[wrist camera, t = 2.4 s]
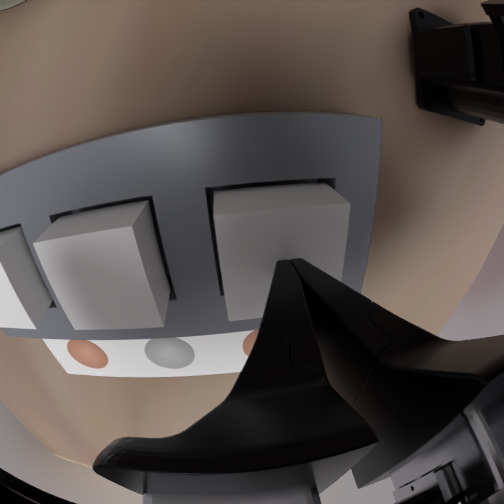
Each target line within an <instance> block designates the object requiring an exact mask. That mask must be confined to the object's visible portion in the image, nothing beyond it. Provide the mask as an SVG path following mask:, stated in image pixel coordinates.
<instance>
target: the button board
mask: <svg viewBox="0 0 504 504" xmlns="http://www.w3.org/2000/svg"><path fill="white" fill-rule="evenodd" d="M381 132H382V118H377V117H371V116H365V115H358V114H351V113H338V112H314V111H277V112H252V113H237V114H226V115H215V116H206V117H198V118H191V119H184V120H177V121H171V122H165V123H159V124H154V125H149V126H144V127H139V128H134V129H130V130H126V131H121V132H117V133H113V134H109V135H105V136H102V137H98V138H94V139H91V140H87V141H84V142H81V143H77V144H74V145H71V146H68V147H65V148H62V149H59V150H56V151H53V152H51V153H48V154H45V155H42V156H40V157H37V158H35V159H32V160H30V161H27V162H25V163H22V164H20V165H18V166H15V167H13V168H11V169H9V170H6V171H4V172H2V173H0V232H2V231H6V230H9V229H13V228H17V227H22V229H23V232H24V235H25V238H26V240H27V243H28V246H29V248H30V251H31V253H32V256H33V258H34V260H35V263H36V265H37V267H38V269H39V272H40V274H41V276H42V278H43V280H44V282H45V285H46V287H47V289H48V291H49V293H50V295H51V297H52V299H53V301H52V303H51V305H50V306H49V308H48V310H47V311H46V313H45V315H44V317H43V319H42V320H41V322H40V324H39V326H38V328H37V329H20V328H4V327H1V328H2V329H3V331H4V332H5V334H6V335H7V336H13V337H25V338H40V339H62V340H136V339H160V338H176V337H190V336H203V335H214V334H224V333H233V332H242V331H250V330H258V329H259V328H260V324H261V321H262V318H254V319H246V320H237V321H229V320H228V314H227V308H226V301H225V295H224V288H223V281H222V275H221V268H220V261H219V254H218V246H217V239H216V231H215V224H214V216H213V213H214V191H220V190H230V189H240V188H250V187H262V186H274V185H288V184H305V183H326V184H328V185H329V186H330V187H331V188H332V189H334V190H335V191H336V192H337V193H339V194H340V195H341V196H342V197H343V198H345V199H346V200H347V201H348V202H349V203H350V215H349V225H348V234H347V242H346V250H345V258H344V265H343V272H342V279H341V282H342V283H344V284H345V285H347V286H349V287H350V288H352V289H354V290H355V291H357V292H358V293H361V288H362V284H363V279H364V274H365V269H366V264H367V259H368V253H369V247H370V241H371V235H372V228H373V222H374V214H375V206H376V198H377V189H378V179H379V167H380V152H381ZM146 200H149V205H150V210H151V215H152V219H153V224H154V228H155V232H156V237H157V241H158V245H159V249H160V253H161V257H162V261H163V265H164V269H165V272H166V276H167V280H168V283H169V287H170V295H169V301H168V306H167V312H166V318H165V324H164V327H157V328H138V329H111V330H75V329H74V328H73V326H72V324H71V322H70V321H69V319H68V317H67V315H66V314H65V312H64V310H63V308H62V306H61V304H60V302H59V300H58V299H57V297H56V295H55V293H54V291H53V289H52V286H51V284H50V282H49V280H48V278H47V276H46V274H45V271H44V269H43V267H42V265H41V262H40V260H39V258H38V255H37V253H36V250H35V248H34V245H33V243H34V241H35V240H36V239H37V238H38V237H39V236H40V235H41V234H42V233H43V232H44V231H45V230H47V229H48V228H49V227H50V226H51V225H52V224H53V223H54V222H55V221H56V220H57V219H58V218H59V217H62V216H66V215H71V214H75V213H80V212H85V211H90V210H95V209H100V208H105V207H111V206H116V205H122V204H128V203H133V202H139V201H146Z"/></svg>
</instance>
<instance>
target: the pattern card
mask: <svg viewBox="0 0 504 504" xmlns="http://www.w3.org/2000/svg"><path fill="white" fill-rule="evenodd" d="M258 331H259V329H258V330H250V331H242V332H233V333H224V334H214V335H203V336H190V337H176V338H160V339H136V340H62V339H43V340H44V342H45V343H46V345H47V346H48V348H49V349H50V350H51V352H52V353H53V355H54V356H55V357H56V359H57V360H58V361H59V363H60V364H61V365H62V367H63V368H64V369H65V370H66V372H67V373H69V374H80V375H94V376H113V377H175V376H195V375H210V374H222V373H232V372H241V371H242V369H243V367H244V365H245V362H246V360H247V358H248V356H249V354H250V352H251V350H252V347H253V345H254V343H255V340H256V337H257V334H258Z"/></svg>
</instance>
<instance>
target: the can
mask: <svg viewBox="0 0 504 504" xmlns="http://www.w3.org/2000/svg"><path fill="white" fill-rule="evenodd" d="M24 1H26V0H0V10H4V9H8V8H11V7H14V6H16V5H18V4H20V3H22V2H24Z"/></svg>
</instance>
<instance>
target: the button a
mask: <svg viewBox="0 0 504 504" xmlns="http://www.w3.org/2000/svg"><path fill="white" fill-rule="evenodd" d="M52 301H53V299H52V297H51V295H50V293H49V291H48V289H47V287H46V285H45V282H44V280H43V278H42V276H41V274H40V272H39V269H38V267H37V265H36V263H35V260H34V258H33V256H32V253H31V251H30V248H29V246H28V243H27V240H26V238H25V235H24V232H23V229H22V227H17V228H13V229H9V230H6V231H2V232H0V327H4V328H20V329H37V328H38V326H39V324H40V322H41V320H42V319H43V317H44V315H45V313H46V311H47V310H48V308H49V306H50V305H51V303H52Z"/></svg>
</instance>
